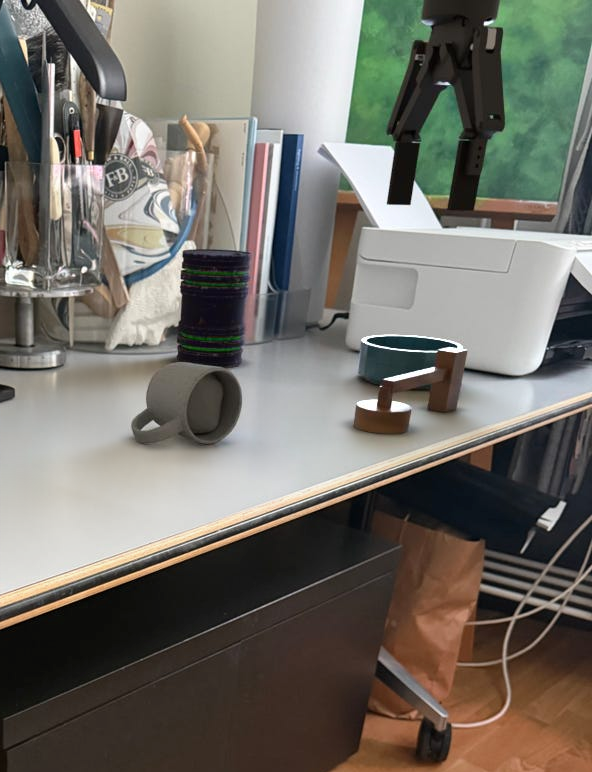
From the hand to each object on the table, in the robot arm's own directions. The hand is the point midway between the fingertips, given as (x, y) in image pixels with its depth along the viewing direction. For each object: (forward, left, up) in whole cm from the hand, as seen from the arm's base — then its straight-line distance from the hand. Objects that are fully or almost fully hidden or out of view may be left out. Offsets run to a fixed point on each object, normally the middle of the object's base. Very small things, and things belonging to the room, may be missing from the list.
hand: (427, 208), depth 105 cm
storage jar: (+30, -14, -22) cm, 40 cm away
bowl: (+2, -17, -22) cm, 28 cm away
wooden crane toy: (-3, +6, -22) cm, 23 cm away
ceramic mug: (+16, +28, -22) cm, 40 cm away
